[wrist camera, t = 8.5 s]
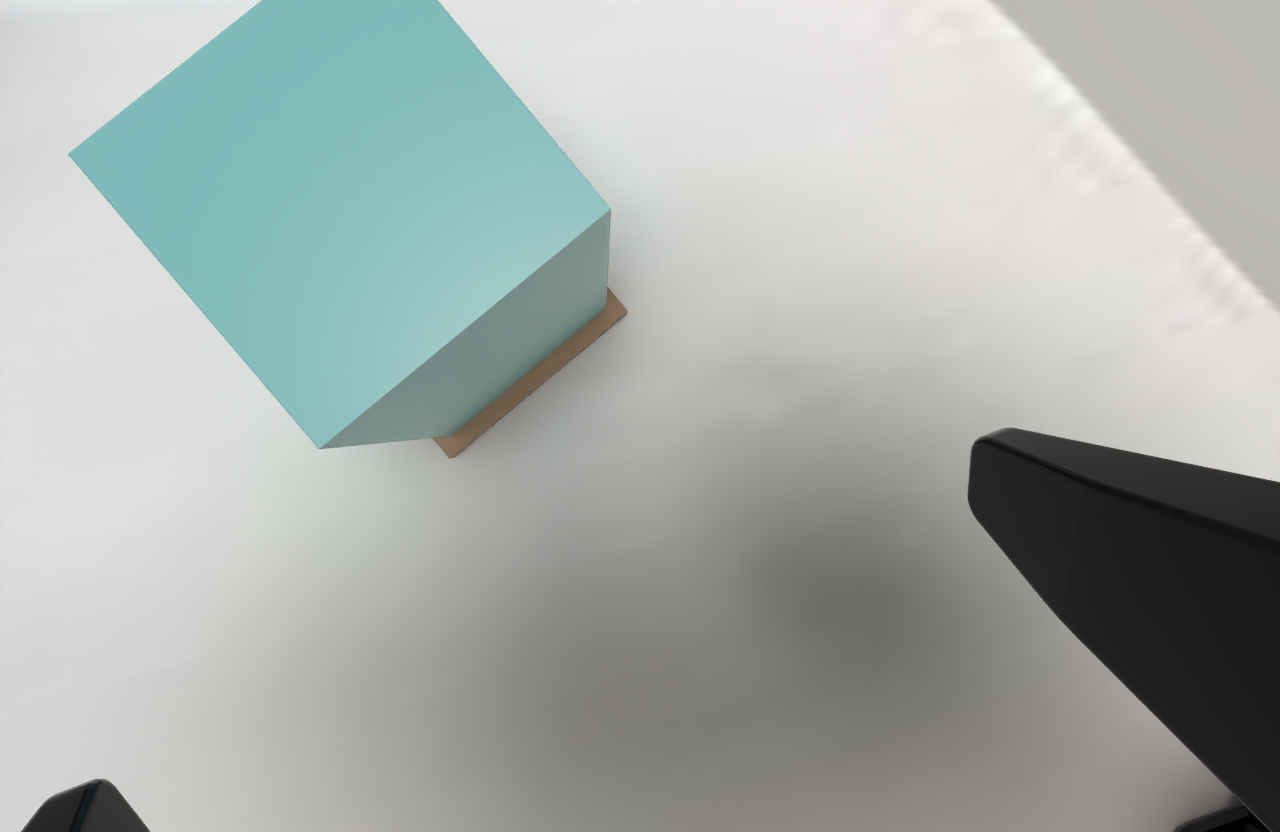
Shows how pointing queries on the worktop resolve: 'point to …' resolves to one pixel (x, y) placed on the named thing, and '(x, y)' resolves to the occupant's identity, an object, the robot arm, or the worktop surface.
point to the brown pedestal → (533, 378)
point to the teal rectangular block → (360, 213)
